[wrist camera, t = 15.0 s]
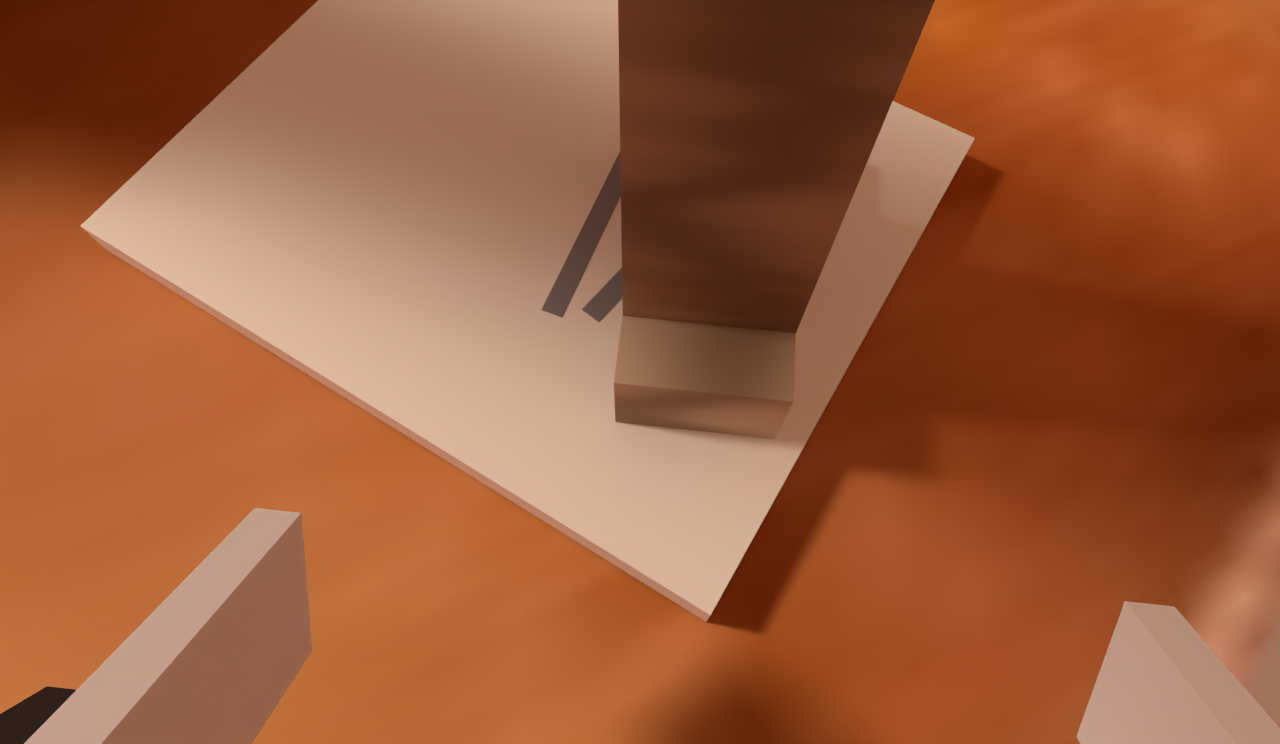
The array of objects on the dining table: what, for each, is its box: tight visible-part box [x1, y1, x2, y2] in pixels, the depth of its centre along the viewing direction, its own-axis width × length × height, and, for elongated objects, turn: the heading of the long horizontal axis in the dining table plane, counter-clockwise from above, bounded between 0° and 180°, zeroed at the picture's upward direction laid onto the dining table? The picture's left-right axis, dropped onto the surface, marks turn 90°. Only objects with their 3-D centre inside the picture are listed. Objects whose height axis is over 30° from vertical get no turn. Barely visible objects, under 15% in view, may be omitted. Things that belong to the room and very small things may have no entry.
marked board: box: [81, 0, 975, 622], centre depth 24 cm, size 20×16×1 cm
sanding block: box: [614, 0, 935, 439], centre depth 17 cm, size 4×9×12 cm, turn 174°
